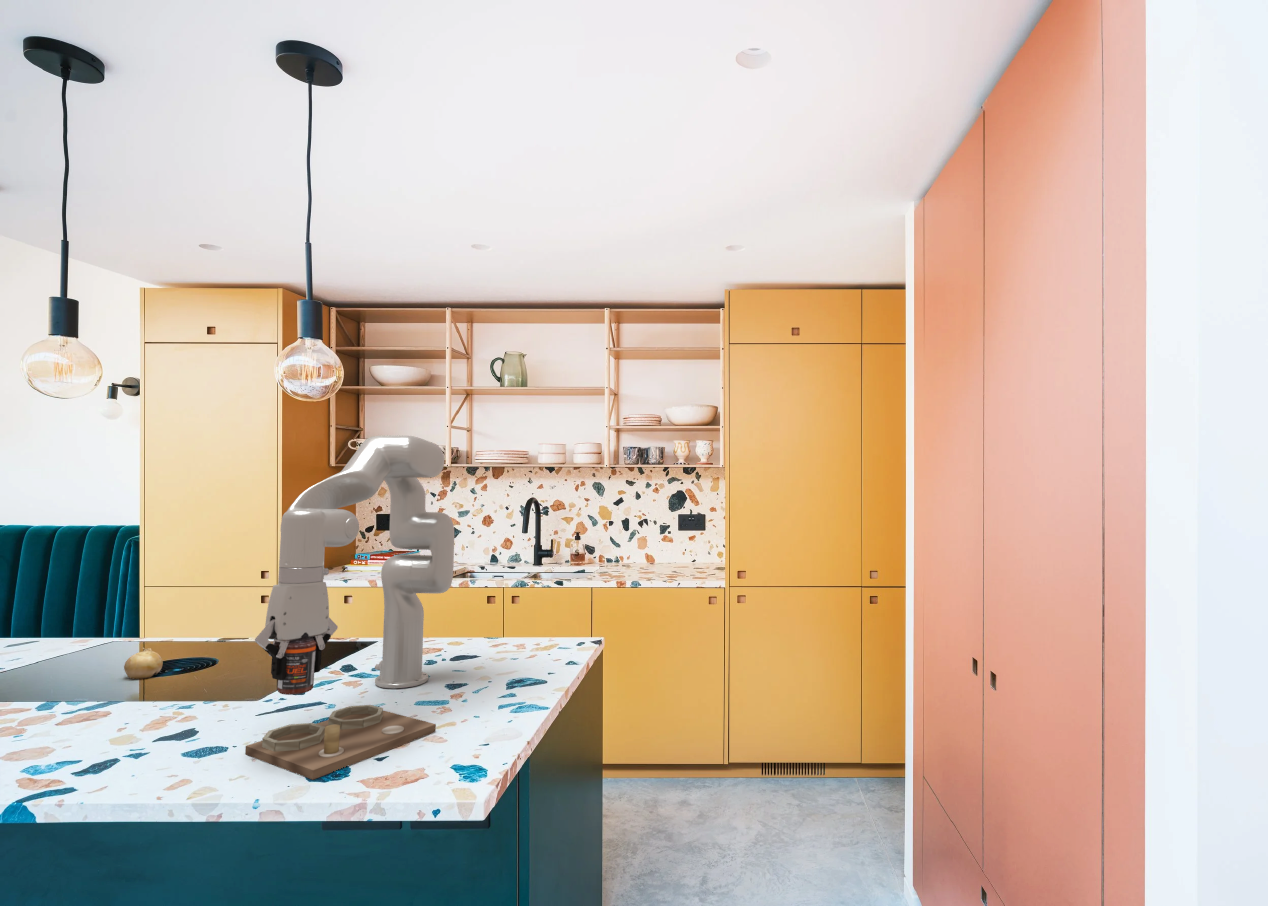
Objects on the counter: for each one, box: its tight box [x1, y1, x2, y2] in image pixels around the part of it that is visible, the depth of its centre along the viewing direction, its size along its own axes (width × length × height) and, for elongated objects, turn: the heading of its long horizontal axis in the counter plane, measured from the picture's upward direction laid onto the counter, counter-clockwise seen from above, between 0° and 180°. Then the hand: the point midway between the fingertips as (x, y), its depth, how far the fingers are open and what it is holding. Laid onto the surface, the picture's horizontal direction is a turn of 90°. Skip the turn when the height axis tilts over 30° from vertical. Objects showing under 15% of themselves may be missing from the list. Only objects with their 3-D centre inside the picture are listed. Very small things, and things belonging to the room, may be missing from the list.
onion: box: [123, 647, 164, 680], centre depth 166 cm, size 8×8×7 cm
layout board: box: [244, 704, 437, 780], centre depth 123 cm, size 20×26×6 cm
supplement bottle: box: [277, 633, 316, 696], centre depth 120 cm, size 6×6×11 cm
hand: (296, 674), depth 120 cm, fingers closed on supplement bottle, 5 cm apart
